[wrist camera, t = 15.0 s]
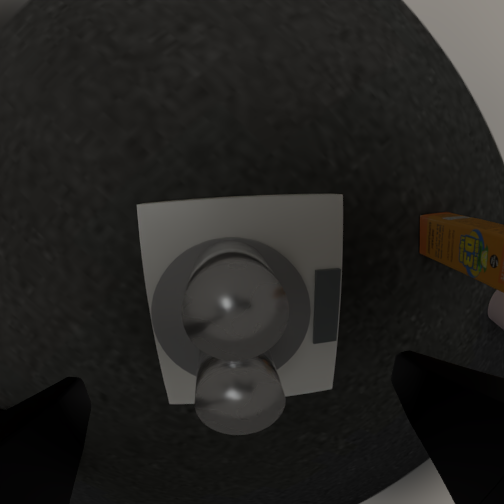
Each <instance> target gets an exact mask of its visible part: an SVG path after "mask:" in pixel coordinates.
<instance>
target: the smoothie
mask: <svg viewBox="0 0 504 504" xmlns="http://www.w3.org/2000/svg"><path fill="white" fill-rule="evenodd" d="M488 317H489V318H490V319H491V320H492V321H494V322H495V323H496V324H497V325H498V326H500V327H501V328H502V329H503V330H504V293H503V292H501V291H499V290H496V291H495V292H494V294H493V296H492V297H491V300H490V302H489V306H488Z"/></svg>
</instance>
